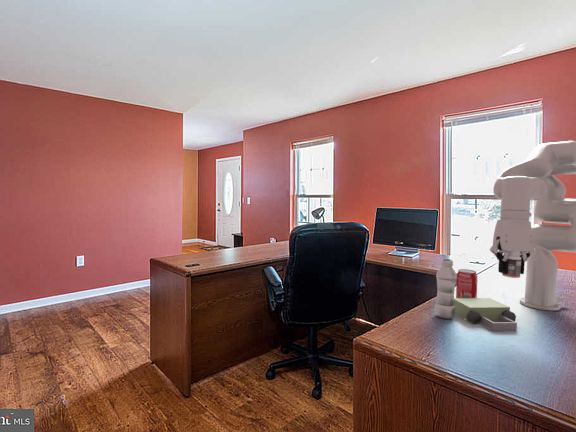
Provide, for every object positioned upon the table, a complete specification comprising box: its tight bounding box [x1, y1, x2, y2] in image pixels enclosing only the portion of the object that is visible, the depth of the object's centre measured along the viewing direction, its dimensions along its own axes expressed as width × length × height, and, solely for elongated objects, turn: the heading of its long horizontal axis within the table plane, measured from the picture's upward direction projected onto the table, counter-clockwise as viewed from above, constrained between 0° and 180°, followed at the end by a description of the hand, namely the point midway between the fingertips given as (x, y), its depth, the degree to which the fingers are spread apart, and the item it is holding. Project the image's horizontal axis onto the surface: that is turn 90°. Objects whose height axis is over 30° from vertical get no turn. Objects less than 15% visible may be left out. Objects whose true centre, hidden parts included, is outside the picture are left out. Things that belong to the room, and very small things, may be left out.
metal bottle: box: [434, 258, 457, 320], centre depth 112 cm, size 6×7×20 cm
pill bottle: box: [501, 251, 521, 279], centre depth 103 cm, size 5×5×8 cm
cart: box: [454, 297, 518, 332], centre depth 111 cm, size 16×19×5 cm
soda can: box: [455, 268, 478, 298], centre depth 128 cm, size 7×7×13 cm
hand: (510, 272), depth 104 cm, fingers closed on pill bottle, 4 cm apart
